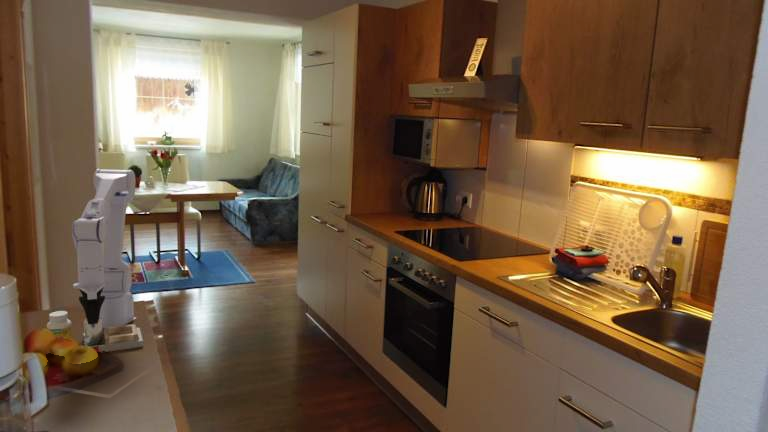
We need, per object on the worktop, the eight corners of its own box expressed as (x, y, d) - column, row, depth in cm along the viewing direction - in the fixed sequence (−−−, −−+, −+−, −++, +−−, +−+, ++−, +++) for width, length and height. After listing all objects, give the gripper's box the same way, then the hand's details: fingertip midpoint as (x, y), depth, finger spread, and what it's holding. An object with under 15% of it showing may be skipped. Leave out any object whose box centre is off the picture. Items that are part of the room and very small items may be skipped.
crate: (105, 348, 140) (104, 338, 140) (104, 337, 147) (103, 327, 146) (137, 344, 144) (137, 334, 143) (135, 333, 150) (135, 324, 150)
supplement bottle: (71, 344, 144) (70, 308, 142) (73, 351, 140) (72, 315, 138) (47, 347, 141) (45, 311, 139) (48, 355, 137) (46, 318, 135)
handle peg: (92, 341, 144) (91, 315, 143) (106, 343, 144) (105, 317, 142) (81, 347, 141) (80, 321, 139) (95, 349, 140) (94, 323, 139)
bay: (83, 357, 137) (82, 347, 136) (83, 342, 145) (82, 333, 145) (143, 348, 143) (142, 339, 143) (139, 335, 152) (139, 326, 151)
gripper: (72, 260, 143) (74, 310, 145) (71, 275, 130) (74, 330, 133) (103, 258, 146) (105, 307, 149) (105, 272, 134) (107, 326, 136)
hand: (92, 318), depth 141 cm, fingers open, 7 cm apart
